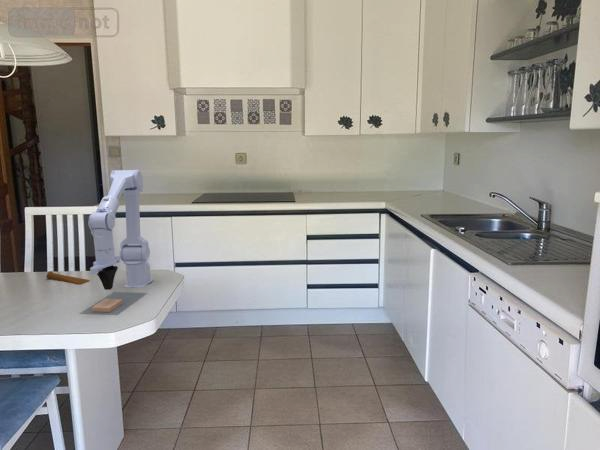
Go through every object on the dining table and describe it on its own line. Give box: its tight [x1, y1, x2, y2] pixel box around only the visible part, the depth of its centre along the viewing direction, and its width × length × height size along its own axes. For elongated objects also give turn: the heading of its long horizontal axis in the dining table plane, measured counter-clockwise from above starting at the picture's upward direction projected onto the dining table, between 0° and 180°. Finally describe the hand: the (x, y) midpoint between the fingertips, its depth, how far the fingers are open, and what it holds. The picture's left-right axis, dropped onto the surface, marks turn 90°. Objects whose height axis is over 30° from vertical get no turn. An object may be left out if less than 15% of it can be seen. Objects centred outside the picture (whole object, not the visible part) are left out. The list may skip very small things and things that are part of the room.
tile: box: [92, 298, 122, 312], centre depth 148 cm, size 2×6×8 cm
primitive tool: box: [45, 270, 91, 285], centre depth 180 cm, size 19×6×4 cm, turn 72°
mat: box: [79, 291, 148, 316], centre depth 153 cm, size 21×13×1 cm, turn 173°
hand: (108, 289), depth 149 cm, fingers closed
